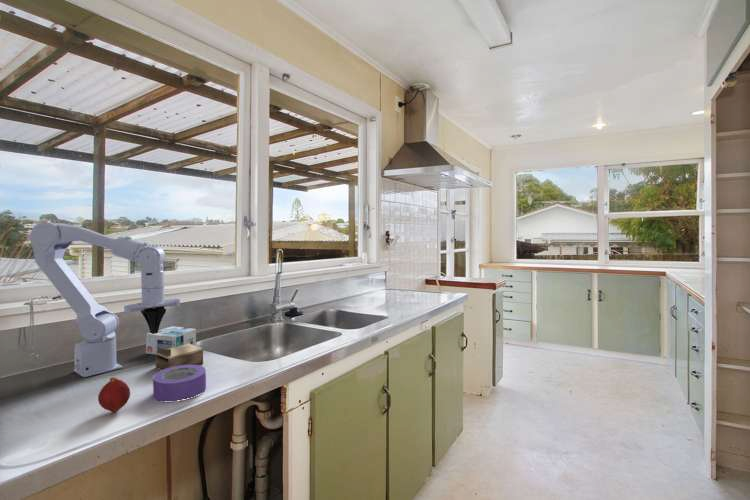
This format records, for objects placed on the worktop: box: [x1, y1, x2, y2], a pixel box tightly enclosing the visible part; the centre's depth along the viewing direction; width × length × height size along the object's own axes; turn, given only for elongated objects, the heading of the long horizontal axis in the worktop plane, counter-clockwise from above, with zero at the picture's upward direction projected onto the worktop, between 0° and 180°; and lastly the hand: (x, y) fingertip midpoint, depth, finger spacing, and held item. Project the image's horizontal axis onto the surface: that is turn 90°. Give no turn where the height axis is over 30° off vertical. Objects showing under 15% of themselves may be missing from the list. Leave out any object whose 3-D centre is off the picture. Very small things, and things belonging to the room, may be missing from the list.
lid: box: [156, 344, 204, 359], centre depth 113 cm, size 10×8×2 cm
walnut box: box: [155, 350, 204, 371], centre depth 113 cm, size 10×8×4 cm
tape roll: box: [152, 365, 207, 403], centre depth 95 cm, size 12×12×5 cm
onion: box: [97, 376, 131, 413], centre depth 84 cm, size 6×6×8 cm
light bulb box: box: [145, 325, 197, 356], centre depth 126 cm, size 11×7×11 cm
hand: (154, 333), depth 112 cm, fingers closed
